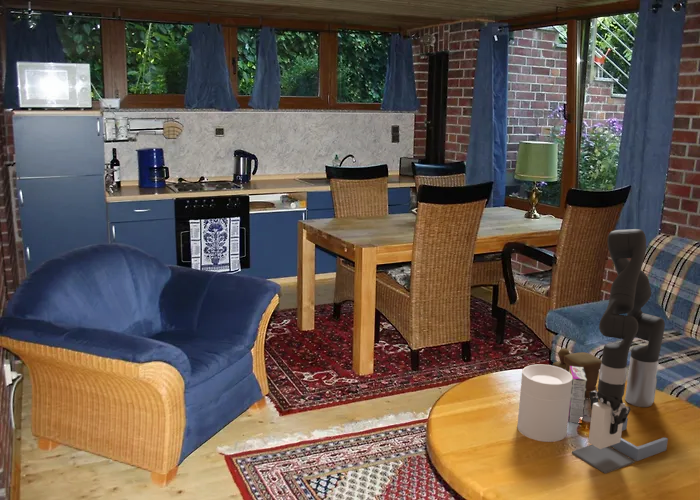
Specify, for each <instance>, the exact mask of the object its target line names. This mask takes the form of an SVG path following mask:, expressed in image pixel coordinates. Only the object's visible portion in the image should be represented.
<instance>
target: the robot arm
mask: <svg viewBox="0 0 700 500" xmlns="http://www.w3.org/2000/svg"><path fill="white" fill-rule="evenodd" d="M607 248H608V252H609V255H610V258H611V260H612V263H613V266H614V268H615V271H616V274H617V276H616V277H615V278H614V280H613V281H612V284H611V288H610V292H609V299H608V305H607V307H606V309H605V311H604V313H603V315H602V317H601V318H600V321H599V325H598V328H599V331H600V333H601V335H603V336H604V337H606V338H613V339H620V340H621V339H622V340H621V341H618V342H610V343H606V344H605V345H604V346H603V349H602V356H601V361H602V363H601V367H600V369H599V375H598V380H597V390H595V391H591V392H589V395H590V399H589V403H590V410H591V411H592V407H593V403H597V402H601V403H602V404H603V403H605V404H607V406H608V407H610V408H611V414H610V415H611V424H610V434H615V433H616V432H617V429H618V424H621V423H625V421H626V419H627V418H628V416H629V414H630V412H631V410H632V409H631V407H630V406H626V404H625V405H624V404H623V403H624V402H623V396H624V394H625V396H624V398H625V399H624V400H625V402H626V403H628V404H630V405H632V406H634V407H641V408H648V407H651V406H652V405H653V403H654V402H655V395H656V390H657V382H658V378H657V373H658V366H659V358H660V353H661V349H662V343H663V338H664V333H665V326H666V323H665V319H663V318H662V317H660V316H657V315H653V314H648V313H644V312H643V311H642V308H643V307H644V306H645V305H646V304H647V303H648V301H649V300H650V298H651V297H652V289H651V285H650V280H649V277H648V276H647V274H646V273H645V272H644V271H643V270H642V266H643V263H644V258H645V255H646V249H647V239H646V234H645V232H644V230H642V229H638V228H633V229H616V230H611V231H610V232H609V234H608V235H607ZM629 259H630V260H629ZM624 314H625V315H624ZM634 339H640V340H642V341H647V345H646V344H645V345H644V344H643V345H636V346H633V347H632V348H631V346H632V343H633V342H634ZM630 348H631V349H630ZM629 352H630V357H629ZM628 359H629V368H628V370H627V367H628ZM627 371H628V374H627ZM627 375H628V376H627ZM626 380H627V382H626ZM625 387H626V390H625ZM612 407H613V408H612ZM619 407H620V408H619ZM616 410H617V412H615V413H613V411H616ZM615 415H616V417H615Z"/></svg>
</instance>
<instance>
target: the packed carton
mask: <svg viewBox="0 0 700 500" xmlns="http://www.w3.org/2000/svg"><path fill="white" fill-rule="evenodd" d="M623 404H624V405H625V406H626V403H625V402H623ZM612 408H613V407H612ZM619 408H620V407H619ZM615 412H617V410H616V411H613V413H615ZM610 414H611V408H610V407H608V406H607V404H605V403H603V404H602V403H601V402H597V403H593V407H592V410H591V416H590V424H589V425H590V426H589V434H588V441H587V442H588V443H589V445H594V446H595V447H597V448H599V449H602V448H605V447H608V446H609V447H611V445H614V444H617V443H620V441H621V438H622V432H623V431H622V425H623V423H621V424H618V429H617V432H616V433H615V434H610V424H611V415H610ZM615 417H616V415H615Z"/></svg>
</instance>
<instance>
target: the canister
mask: <svg viewBox="0 0 700 500" xmlns="http://www.w3.org/2000/svg"><path fill="white" fill-rule="evenodd" d="M572 379H573V378H572V375H571V374H570V373H569V372H568V371H566V370H564V369H562V368H559V367H556V366H553V364H552V365H551V364H540V363H539V364H537V363H535V364H529V365H527V366H525V367H524V368H523V369H522V372H521V382H520V383H521V385H520V391H519V392H520V394H519V403H518V405H519V406H518V407H519V408H518V416H517V430H518V431H519V433H521V434H522V435H523V436H524V437H527V438H529V439H531V440H535V441H536V442H537V441H538V442H544V443H546V442H547V443H553V442H559V441H561V440H564V439H565V438H566V436H567V434H568V427H569V426H568V424H569V421H568V417H569V407H570V398H571V389H572Z"/></svg>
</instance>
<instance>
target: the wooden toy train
mask: <svg viewBox="0 0 700 500" xmlns="http://www.w3.org/2000/svg"><path fill="white" fill-rule="evenodd" d="M557 356H558V358H559V361H555V362H553V363H552V366H556V367H559V368H562V369H564V370H566V371H568V372H569V366H574V367H575V366H577V367H583V368H584V371H585V375H586V378H587V385H586V395H585V401H586V400H590V395H589V392H591V391H595V390H597V391H598V388H597V385H598V381H599V373H600V367H601V363H602V359H600V358H598V357H597V356H595V355H593V354H591V353H588V352H584V351H583V352H581V351H580V352H575V353H570V351H569V349H568V348H566V347H563V348H561V349H560V350H558V352H557Z"/></svg>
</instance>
